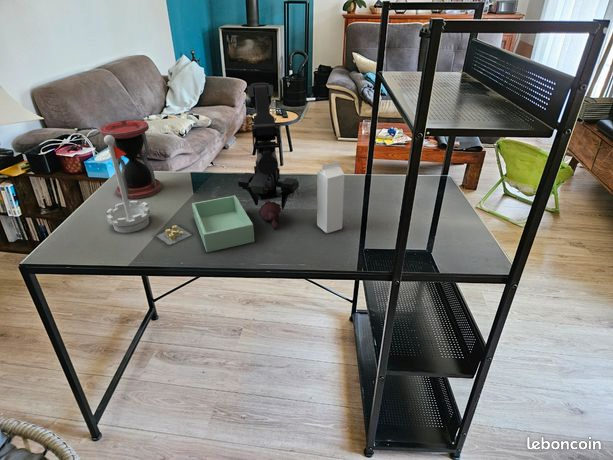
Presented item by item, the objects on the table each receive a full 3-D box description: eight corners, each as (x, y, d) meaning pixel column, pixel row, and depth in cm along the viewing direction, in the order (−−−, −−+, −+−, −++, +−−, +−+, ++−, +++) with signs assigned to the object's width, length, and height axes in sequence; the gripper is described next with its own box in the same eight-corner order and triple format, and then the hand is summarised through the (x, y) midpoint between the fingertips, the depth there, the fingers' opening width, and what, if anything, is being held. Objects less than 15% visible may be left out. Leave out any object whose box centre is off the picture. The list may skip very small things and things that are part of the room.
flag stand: (101, 230, 131) (73, 139, 116) (129, 212, 142) (106, 126, 127) (134, 237, 128) (109, 144, 112) (160, 218, 138) (141, 130, 123)
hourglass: (169, 183, 163) (156, 120, 150) (146, 201, 149) (130, 134, 136) (133, 179, 166) (117, 118, 153) (108, 197, 152) (89, 131, 140)
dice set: (171, 241, 125) (170, 236, 124) (162, 235, 128) (161, 230, 127) (185, 235, 128) (184, 230, 127) (176, 229, 131) (175, 224, 130)
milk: (342, 229, 131) (345, 164, 119) (326, 233, 128) (328, 168, 117) (332, 220, 135) (334, 157, 124) (316, 225, 133) (317, 161, 121)
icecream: (253, 194, 138) (259, 219, 126) (274, 187, 138) (281, 211, 126) (259, 210, 142) (265, 236, 130) (280, 204, 142) (287, 228, 131)
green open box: (237, 211, 142) (235, 195, 139) (254, 241, 125) (253, 224, 121) (194, 219, 137) (191, 203, 134) (206, 252, 120) (203, 234, 117)
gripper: (227, 168, 121) (232, 214, 129) (285, 175, 116) (287, 222, 124) (243, 155, 130) (247, 199, 138) (298, 161, 125) (299, 206, 133)
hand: (269, 206), depth 133 cm, fingers open, 9 cm apart
